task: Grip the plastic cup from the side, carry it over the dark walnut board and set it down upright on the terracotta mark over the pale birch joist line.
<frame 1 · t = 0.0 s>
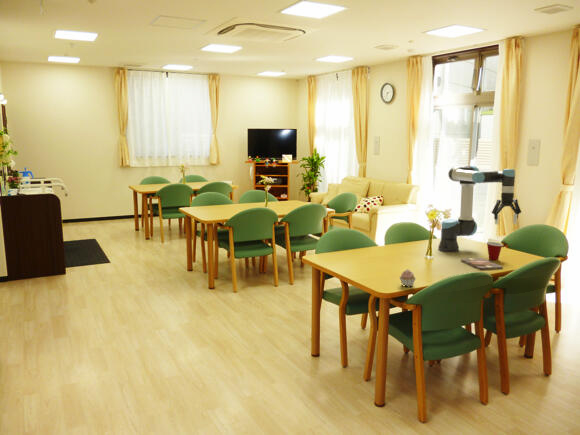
hand: (505, 223, 308), 28 cm above the table, tool pointing down, fingers open, 13 cm apart
joist board: (480, 264, 312), on the table
cupcake: (407, 286, 268), on the table
plastic cup: (493, 260, 326), on the table
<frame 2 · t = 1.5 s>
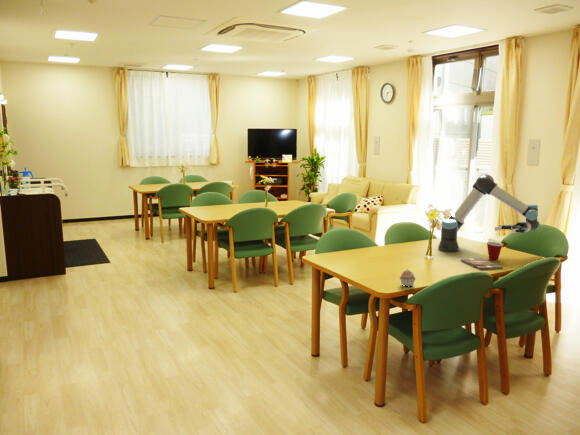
hand: (503, 230, 327), 20 cm above the table, tool horizontal, fingers open, 13 cm apart
nothing on the table moved.
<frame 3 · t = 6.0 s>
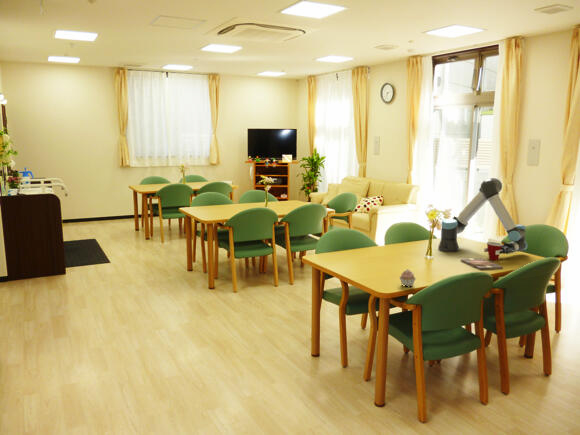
hand: (490, 251, 322), 7 cm above the table, tool horizontal, fingers closed on plastic cup, 9 cm apart
plastic cup: (493, 259, 326), on the table, touching gripper
everything else where it was.
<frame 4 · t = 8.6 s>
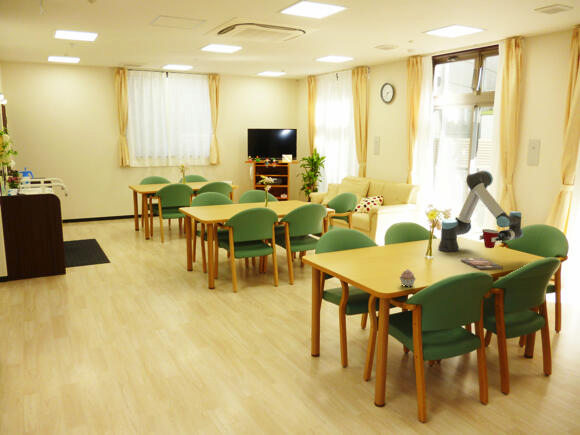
hand: (486, 238, 310), 18 cm above the table, tool horizontal, fingers closed on plastic cup, 9 cm apart
plastic cup: (489, 247, 314), point 11 cm above the table, touching gripper
everything else where it was.
when the fingers open (10 cm above the table, at t = 11.1 s): plastic cup drops 1 cm, point 2 cm above the table.
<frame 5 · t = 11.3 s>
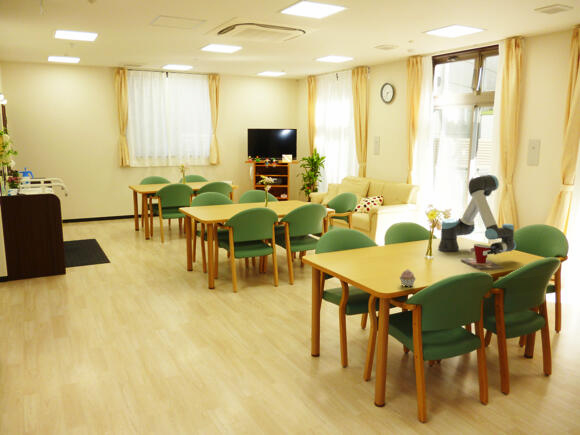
hand: (476, 251, 307), 10 cm above the table, tool horizontal, fingers open, 10 cm apart
plastic cup: (481, 262, 310), point 2 cm above the table, touching gripper
everything else where it was.
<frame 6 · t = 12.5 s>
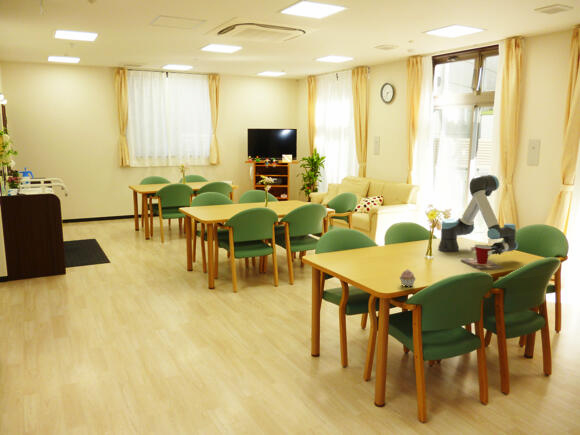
hand: (479, 251, 308), 10 cm above the table, tool horizontal, fingers open, 13 cm apart
plastic cup: (482, 263, 309), point 2 cm above the table, touching joist board
everything else where it was.
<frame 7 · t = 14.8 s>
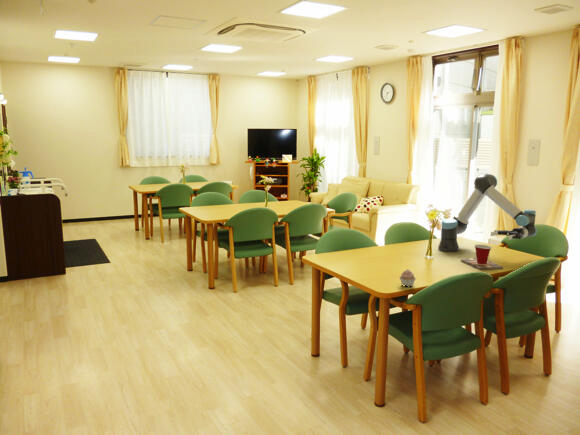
hand: (499, 235, 315), 19 cm above the table, tool horizontal, fingers open, 13 cm apart
nothing on the table moved.
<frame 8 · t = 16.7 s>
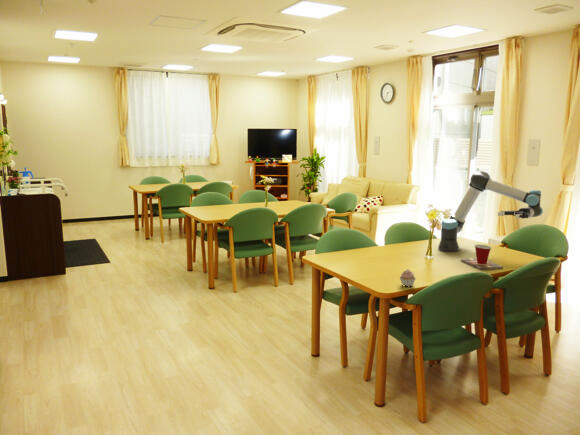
hand: (506, 215, 319), 32 cm above the table, tool horizontal, fingers open, 13 cm apart
nothing on the table moved.
at the end: plastic cup inside the target area (1.4 cm from its centre), point 1.6 cm above the table; plastic cup tilted 0°; the gripper is holding nothing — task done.
